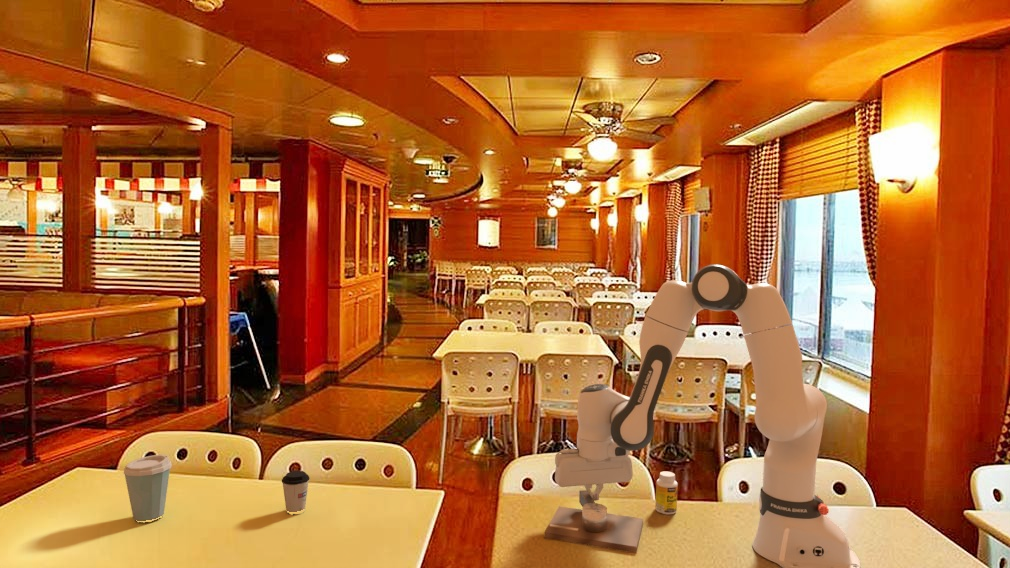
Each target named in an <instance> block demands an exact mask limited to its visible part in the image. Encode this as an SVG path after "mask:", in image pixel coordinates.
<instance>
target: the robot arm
mask: <svg viewBox="0 0 1010 568" xmlns="http://www.w3.org/2000/svg"><path fill="white" fill-rule="evenodd" d="M701 311H713V312H725V311H731V312H733V313H735V315H736V316H737V318H738V321H739V323H740V327H741V330H742V334H743V337H744V340H745V344H746V348H747V353H748V355H749V359H750V362H751V365H752V371H753V380H754V394H755V411H754V423H755V426H756V427H757V429H758V431H759V433H761V434H762V436H764V437H766V438H767V439H769V441H768V443H767V444H768V445H767V448H766V451H765V452H764V456H763V471H762V472H763V473H762V486H761V487H760V493H759V500H758V501H759V503H758V510H759V514H760V515H759V520H758V525H757V530H756V532H755V537H754V539H753V541H752V548H753V550H754V551H755V552H756V553H757V554H758V555H759V556H761V557H763V558H765V559H766V560H768V561H771V562H774V564H777V565H779V566H780V567H781V568H861V566H862V565H861V561H860V559H859V556H858V555H857V554H856V552H855V551H853V550H852V549H851V548H850V545H849V540H848V538H847V535H846V533H845V531H844V530H843V529H842V528H841V527H840V525H838V524H837V523H835V522H834V521H833V520H832V519H831V518H830V517H828V516H827V515H828V514H829V513H830V511H829V508H828V506H827V504H826V503H824V501H823V499H821V497H820V496H819V494H817V495H816V494H815V490H816V489H815V487H816V473H817V472H816V471H817V469H816V468H817V461H818V457H819V456H818V455H819V451H820V446H821V441H822V437H823V436H822V435H823V429H824V424H825V417H826V413H827V410H828V404H827V402H828V401H827V399H826V396H825V395H824V394H823V392H822V391H821V390H820V389H819V388H817V387H816V386H814V385H811V384H808V383H804V378H803V377H804V376H803V368H802V367H803V353H802V351H801V347H800V344H799V340H798V338H797V334H796V331H795V327H794V325H793V322H792V319H791V315H790V313H789V310H788V308H787V305H786V304H785V301H784V299H783V297H782V296H781V294H780V292H779V290H778V289H777V287H775V286H774V285H773V284H769V283H765V282H758V283H754V284H747V283H746V282H745V281H744V279H743V280H742V278H740V276H739V275H738V274H737V273H736V272H735V271H734V270H733V269H731V268H730V267H728V266H725V265H721V264H717V263H716V264H715V263H714V264H709V265H706V266H703V267H701V268H700V269H699V270H697V272H696V273H695V274H694V276H693V278H692V281H690V282H686V281H682V280H676V279H675V280H672V279H671V280H668V281H665V282H663V284H662V285H661V286H660V288H659V289H658V291H657V292H656V294H655V296H654V298H653V300H652V301H651V303H650V305H649V308H648V310H647V311H646V315H645V317H644V320H643V323H642V326H641V331H640V335H639V341H638V342H639V352H640V365H639V371H638V375H637V377H636V380H635V382H634V386H633V388H632V391H631V393H630V396H627V395H624V394H623V393H620V392H617V391H616V390H614V389H613V388H612V387H610V386H609V385H608V384H605V383H602V384H601V383H597V384H590V385H587V386H585V387H584V388H583V389H581V390H580V393H579V396H578V400H577V409H576V411H577V413H576V414H577V415H576V417H577V423H578V430H577V432H576V433H577V434H576V448H568V449H566V448H565V449H561V450H560V451H558V452H557V453H556V454H555V457H554V458H555V460H554V461H555V462H554V464H555V472H554V480H555V483H556V484H557V485H558V486H559V487H561V488H567V487H568V488H569V487H580V486H583V487H584V488H585V490H587V491H588V494H589V495H590V496H591V497H592V499H593V500H594V502H596V501H599V500H600V494H601V492H602V490H603V489H604V484H605V485H607V484H616V483H618V484H619V483H628V482H630V481H631V480H632V479H633V476H634V474H633V462H632V458H631V457H630V456H629V455H630V453H631V452H630V451H632V452H634V451H636V452H637V451H640V450H643V449H644V448H646V447H647V446H648V445H649V444H650V443H651V441H652V440H653V438H654V430H655V429H654V427H655V426H654V412H655V408H656V407H657V403H658V401H659V398H660V396H661V392H662V389H663V388H664V387H663V386H664V383H665V382H666V378H667V376H668V374H669V372H670V369H671V368H672V365H673V363H674V362H675V360H676V357H677V355H679V353H680V350H681V348H682V346H683V344H684V343H685V340H686V338H687V335H688V334H689V331H690V328H691V326H692V323H693V321H694V319H695V318H696V316H697V314H698V313H699V312H701ZM593 485H595V486H596V488H595V489H594V490H593V491H592V490H591V489H593Z"/></svg>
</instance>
